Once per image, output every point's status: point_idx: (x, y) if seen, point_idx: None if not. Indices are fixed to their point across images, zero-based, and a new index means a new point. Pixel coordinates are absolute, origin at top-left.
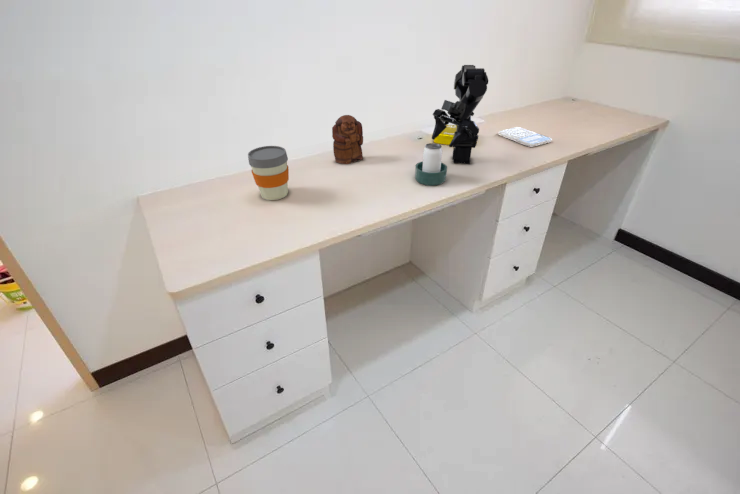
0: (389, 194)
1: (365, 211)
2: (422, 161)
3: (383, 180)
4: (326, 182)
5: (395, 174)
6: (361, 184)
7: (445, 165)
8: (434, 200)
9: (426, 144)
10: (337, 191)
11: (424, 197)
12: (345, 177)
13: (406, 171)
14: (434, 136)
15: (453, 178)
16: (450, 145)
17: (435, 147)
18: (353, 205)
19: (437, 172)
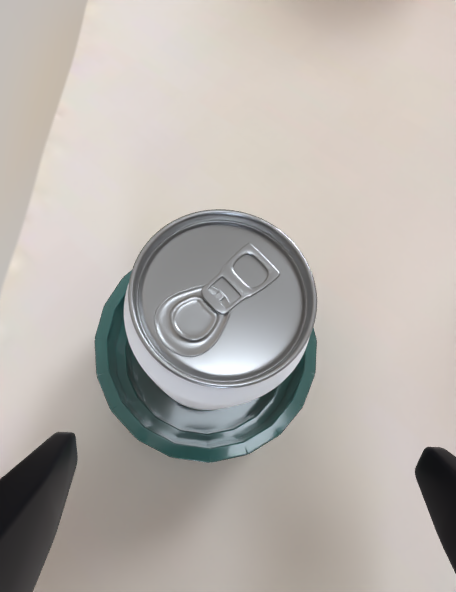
0: (206, 129)
1: (161, 18)
2: (314, 353)
3: (327, 186)
4: (414, 51)
5: (354, 260)
6: (340, 112)
7: (157, 441)
8: (29, 216)
9: (307, 266)
10: (334, 39)
11: (84, 204)
12: (424, 108)
13: (357, 324)
14: (447, 495)
15: (123, 487)
16: (47, 442)
17: (195, 299)
18: (219, 18)
19: (113, 305)
